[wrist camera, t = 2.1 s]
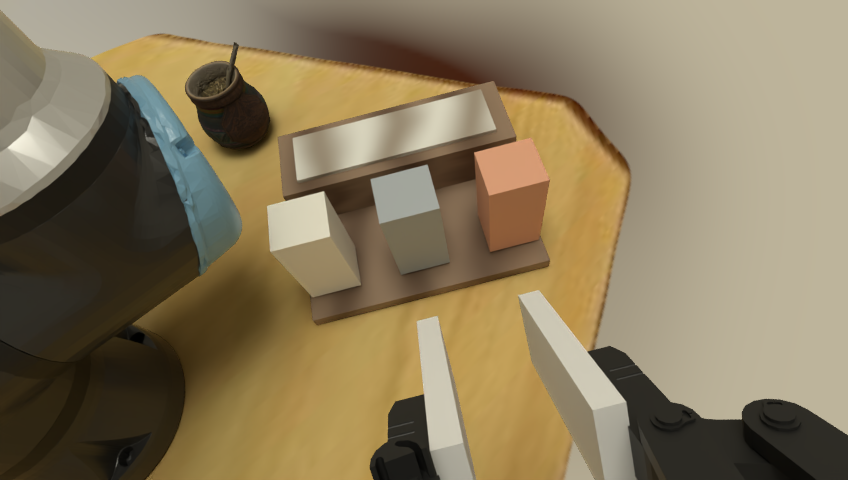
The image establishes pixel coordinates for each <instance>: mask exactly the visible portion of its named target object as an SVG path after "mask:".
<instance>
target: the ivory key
mask: <svg viewBox="0 0 848 480" xmlns="http://www.w3.org/2000/svg"><path fill="white" fill-rule="evenodd" d="M267 211H268V226H269V242H270V252H271V253H272V254H273V256H274V257H275V258H276V259H277V260H278V261H279V262H280V263H281V264H282V265H283V266H284V267H285V268H286V269H287V271H288V272H289V273H290V274H291V275H292V276H293V277H294V278H295V279H296V280H297V281H298V282H299V283H300V284H301V286H302V287H303V288H304V289H305V290H306V291H307V292H308V293H309V294H310V295H311V296H312V297H317V296H321V295H324V294H328V293H332V292H336V291H340V290H344V289H348V288H352V287H356V286H360V285H361V280H360V274H359V268H358V262H357V256H356V250H355V245H354V244H353V242H352V240H351V238H350V236H349V235H348V233H347V231H346V229H345V228H344V226H343V224H342V222H341V221H340V219H339V217H338V215H337V214H336V212H335V210H334V208H333V206H332V205H331V203H330V201H329V199H328V198H327V196H326V194H325V192H324V191H323V192H319V193H315V194H311V195H308V196H304V197H300V198H296V199H292V200H288V201H284V202H280V203H277V204H273V205H269V206H267Z"/></svg>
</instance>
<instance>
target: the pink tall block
mask: <svg viewBox="0 0 848 480" xmlns="http://www.w3.org/2000/svg"><path fill="white" fill-rule="evenodd" d="M474 157H475V175H476V192H477V209H478V217H479V220H480V223H481V226H482V229H483V232H484V235H485V238H486V241H487V244H488V247H489V250H490V252H492V251H496V250H500V249H504V248H508V247H512V246H516V245H520V244H524V243H528V242H532V241H535V240H539V237H540V232H541V226H542V221H543V215H544V210H545V204H546V198H547V193H548V187H549V182H550V179H549V177H548V175H547V172H546V170H545V168H544V165H543V163H542V161H541V158H540V156H539V154H538V151H537V149H536V147H535V145H534V142H533V140H532V138H528V139H524V140H521V141H517V142H513V143H509V144H505V145H501V146H497V147H493V148H490V149H486V150H482V151H478V152H474Z"/></svg>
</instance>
